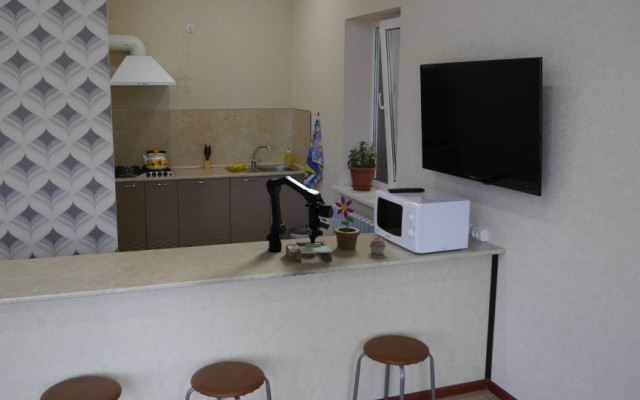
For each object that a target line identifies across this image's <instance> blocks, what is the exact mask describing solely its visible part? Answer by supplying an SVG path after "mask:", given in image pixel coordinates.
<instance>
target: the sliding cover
mask: <svg viewBox="0 0 640 400" xmlns="http://www.w3.org/2000/svg"><path fill="white" fill-rule="evenodd" d="M330 248H331V247H330V246H329V245H328V246H321V243H308V244H306V246H300V247H298V249H299V250H300V252H301V253H302V255H303V254H305V253H315V254H323V253H332V254H333V249H332V248H331V249H332V250H331V249H330Z"/></svg>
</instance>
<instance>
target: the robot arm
mask: <svg viewBox="0 0 640 400" xmlns="http://www.w3.org/2000/svg"><path fill="white" fill-rule="evenodd" d="M284 185H286V186H287V187H288V188H290V189H292V190H293V191H295V192H297V193H298V194H300V195H301V196H302V197H303V198H304V200H305V201H306V202H307V203H306V204H305V205H304V207H306V208H308V209H307V211H308V213H307V215H308V216H307V221H306V222H304V225H303V228H304V229H307V230H306V234H307V235H308V238H309V241H311V243H315V241H316V240H317V237H320V236H321V237H322V236H323V234H324V233H323V232H324V231H323V230H322V229H325V230H326V231H329V227H330V225H331V224H330V223H329V222H327V219H333V217H334V213H335V210H334V208H333V205H332V204H326V202H325V201H324V199H323V197H322V194H321V192H320V191H318V190H315V189H311V188H308V187H307V186H305V185H303V184H302V183H301V182H298V181H297V180H296V179H294V178H292V177H291V176H290V175H286V176H282V177H280V178H278V177H275V178H271V179H268V180H267V181H266V182H265V187H266V191H267V193H268V194H269V197H270V207H271V218H272V222H271V225H270V228H269V229H270V232H269V233H268V234H267V235H266V236H265V238H266V240H267V241H268V247H267V250H268V252H269V253H275V252H277V253H279V252H282V250H283V249H282V243H283V242H282V240H281V239H283V237H284V236H285V235H286V232H287V228H286V225H287V224H286V223H283V221H282V211H281V201H280V193H281V190H282V186H284ZM321 218H322V219H321ZM321 228H322V229H321Z"/></svg>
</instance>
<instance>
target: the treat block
mask: <svg viewBox="0 0 640 400" xmlns="http://www.w3.org/2000/svg"><path fill="white" fill-rule="evenodd" d="M304 254H305V255H306V256H307V257H315V256H316V253H304Z"/></svg>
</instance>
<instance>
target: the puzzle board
mask: <svg viewBox="0 0 640 400" xmlns="http://www.w3.org/2000/svg"><path fill="white" fill-rule="evenodd" d="M308 243H311V241H310V240H308V241H295V243H287V244H285V256H286V257H287V259H288V261H289V263H302V262H303V261H302V260H303V254H302V253H301V252H300V250H299V249H298V247H300V246H306V244H308ZM315 243H321V246H329V244H328V243H327V242H326V241H325V240H319V241H318V240H317V241H316V240H315ZM330 249H331V250H332V251H333V249H332V248H331V247H330ZM322 255H323V256H324V258H327V259H326V260H327V261H328V262H332V261H333V252H332V253H322Z"/></svg>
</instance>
